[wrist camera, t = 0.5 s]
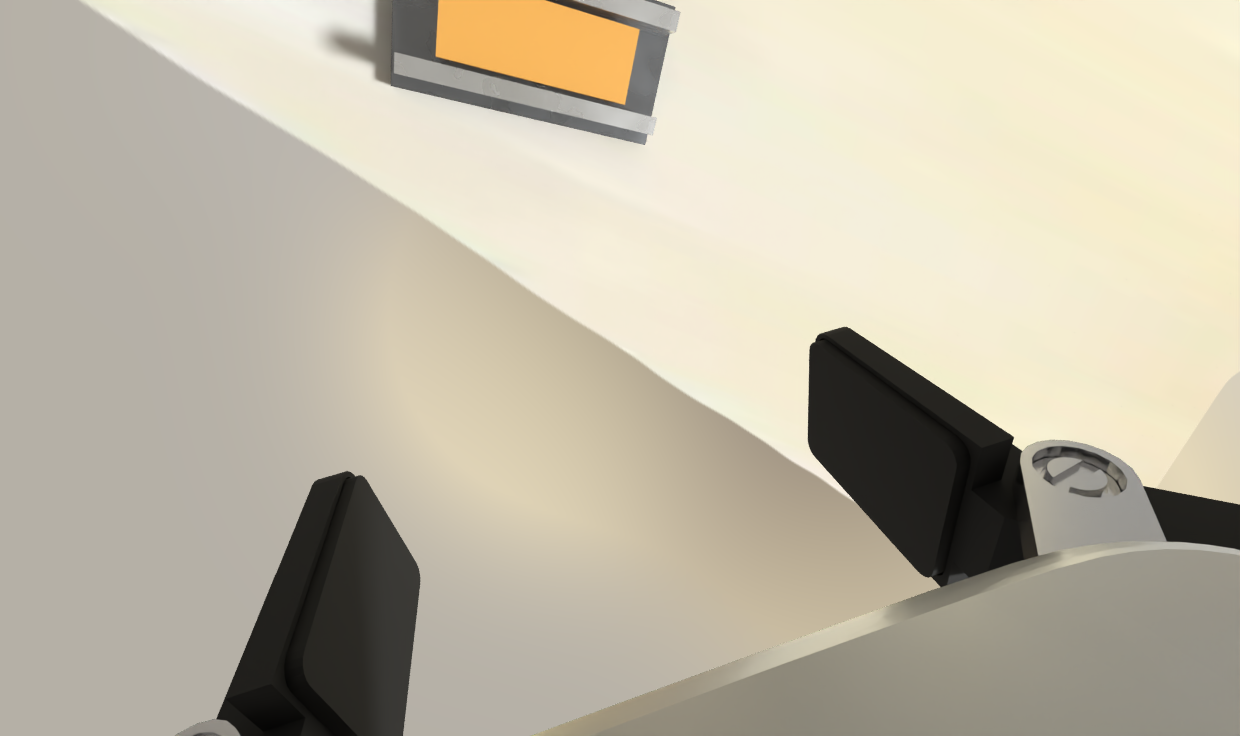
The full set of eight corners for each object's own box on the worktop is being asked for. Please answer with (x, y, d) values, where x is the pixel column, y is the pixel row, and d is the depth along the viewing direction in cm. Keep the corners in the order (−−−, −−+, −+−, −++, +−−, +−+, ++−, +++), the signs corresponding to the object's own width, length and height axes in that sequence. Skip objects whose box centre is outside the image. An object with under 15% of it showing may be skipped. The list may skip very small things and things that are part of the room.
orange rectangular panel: (441, -29, 27) (440, -32, 26) (635, 30, 31) (639, 29, 30) (436, 57, 29) (435, 56, 28) (620, 104, 32) (624, 104, 31)
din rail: (397, -80, 27) (386, -103, 24) (670, 9, 32) (691, 0, 29) (393, 85, 31) (383, 85, 28) (641, 143, 36) (657, 148, 32)
